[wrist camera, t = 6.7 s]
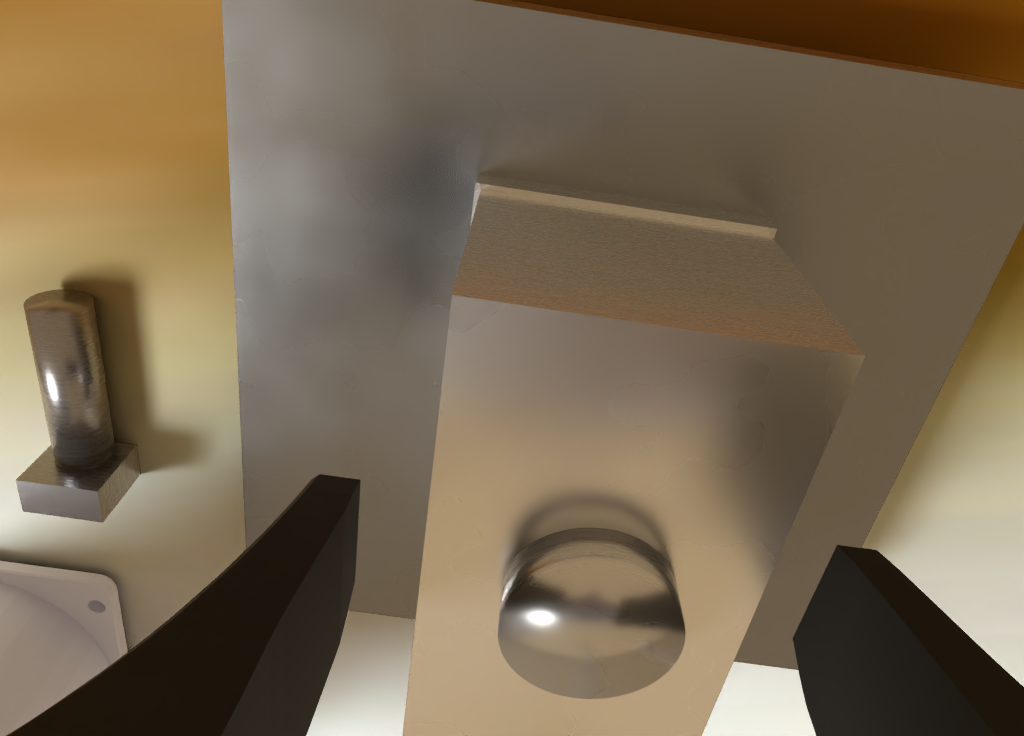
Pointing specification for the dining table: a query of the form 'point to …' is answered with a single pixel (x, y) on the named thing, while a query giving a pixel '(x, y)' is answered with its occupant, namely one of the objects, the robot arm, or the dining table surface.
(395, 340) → the stand
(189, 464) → the dining table surface
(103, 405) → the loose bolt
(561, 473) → the block
